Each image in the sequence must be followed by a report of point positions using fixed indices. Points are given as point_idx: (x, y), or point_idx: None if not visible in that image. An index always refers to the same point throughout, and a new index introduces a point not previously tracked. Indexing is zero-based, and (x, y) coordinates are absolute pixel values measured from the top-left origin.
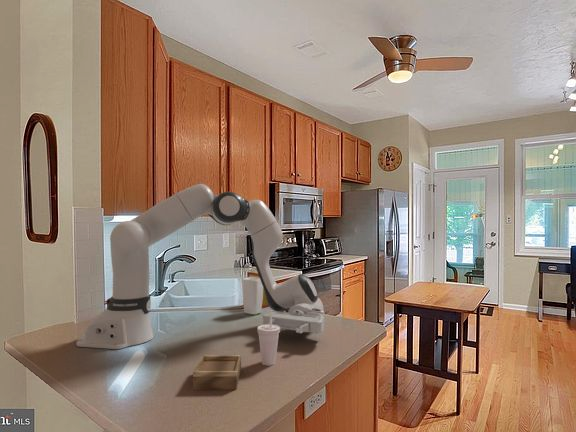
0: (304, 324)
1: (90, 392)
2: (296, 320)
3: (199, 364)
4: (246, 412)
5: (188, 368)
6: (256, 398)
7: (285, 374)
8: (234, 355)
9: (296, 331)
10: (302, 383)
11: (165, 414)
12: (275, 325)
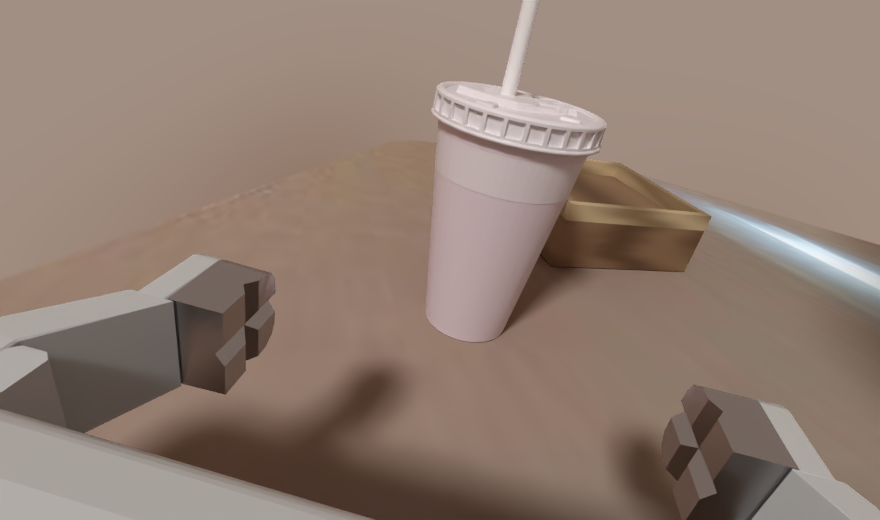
0: (44, 358)
1: (792, 223)
2: (218, 473)
3: (648, 182)
4: (425, 156)
5: (751, 288)
6: (420, 175)
7: (351, 238)
8: (597, 205)
9: (271, 315)
10: (279, 197)
11: None
12: (494, 110)
